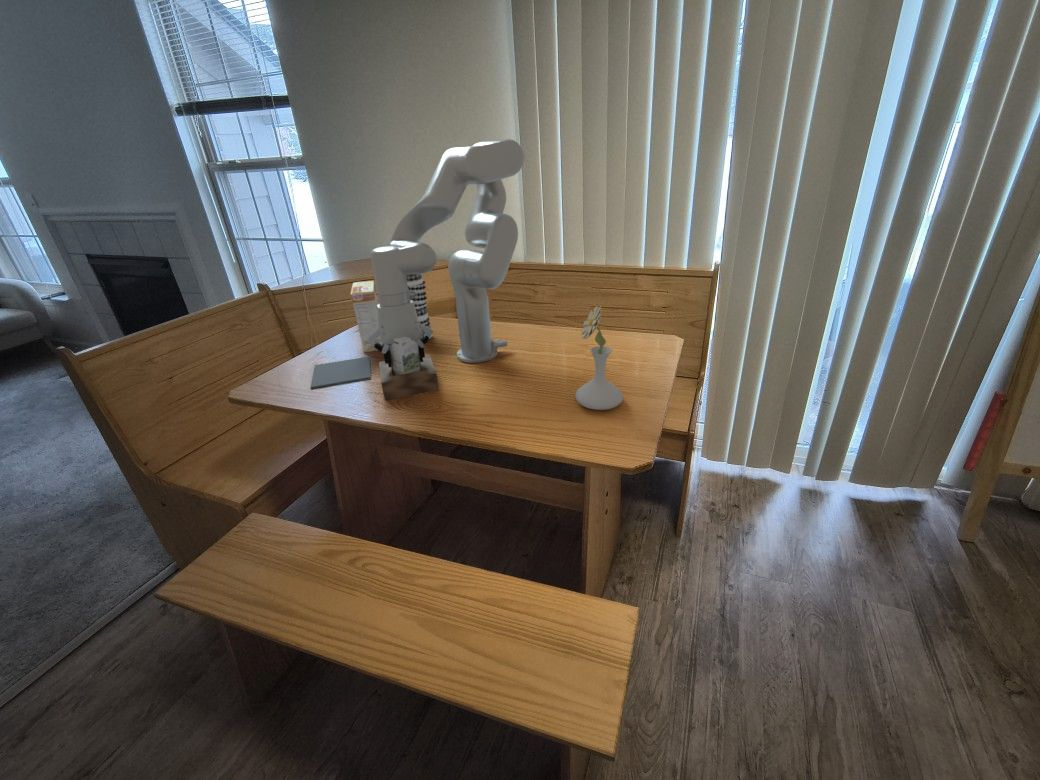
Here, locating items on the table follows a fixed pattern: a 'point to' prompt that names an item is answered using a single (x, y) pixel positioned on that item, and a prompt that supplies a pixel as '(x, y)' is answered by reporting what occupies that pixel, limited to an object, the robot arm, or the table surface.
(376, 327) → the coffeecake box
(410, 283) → the black and white tower
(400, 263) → the robot arm
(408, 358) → the syrup box
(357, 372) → the charcoal mat
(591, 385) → the flower in vase
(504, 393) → the table surface
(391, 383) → the walnut pocket holder
